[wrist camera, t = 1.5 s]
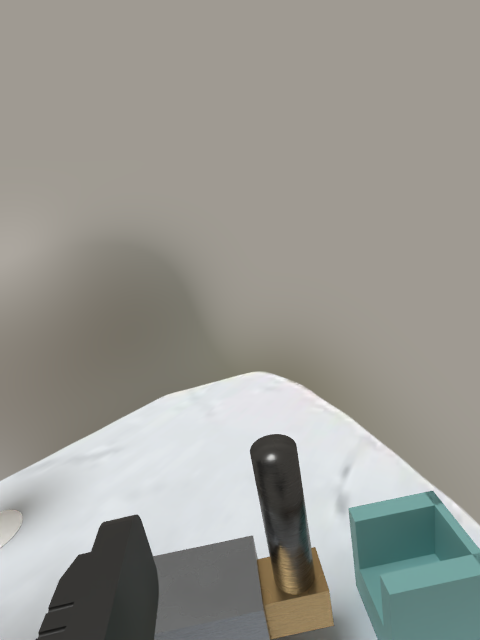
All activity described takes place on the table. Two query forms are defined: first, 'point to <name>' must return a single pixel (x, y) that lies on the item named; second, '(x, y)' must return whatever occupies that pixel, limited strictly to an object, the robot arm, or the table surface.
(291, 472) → the board with post
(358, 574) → the socket
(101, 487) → the table surface
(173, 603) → the sleeve
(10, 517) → the champagne flute
